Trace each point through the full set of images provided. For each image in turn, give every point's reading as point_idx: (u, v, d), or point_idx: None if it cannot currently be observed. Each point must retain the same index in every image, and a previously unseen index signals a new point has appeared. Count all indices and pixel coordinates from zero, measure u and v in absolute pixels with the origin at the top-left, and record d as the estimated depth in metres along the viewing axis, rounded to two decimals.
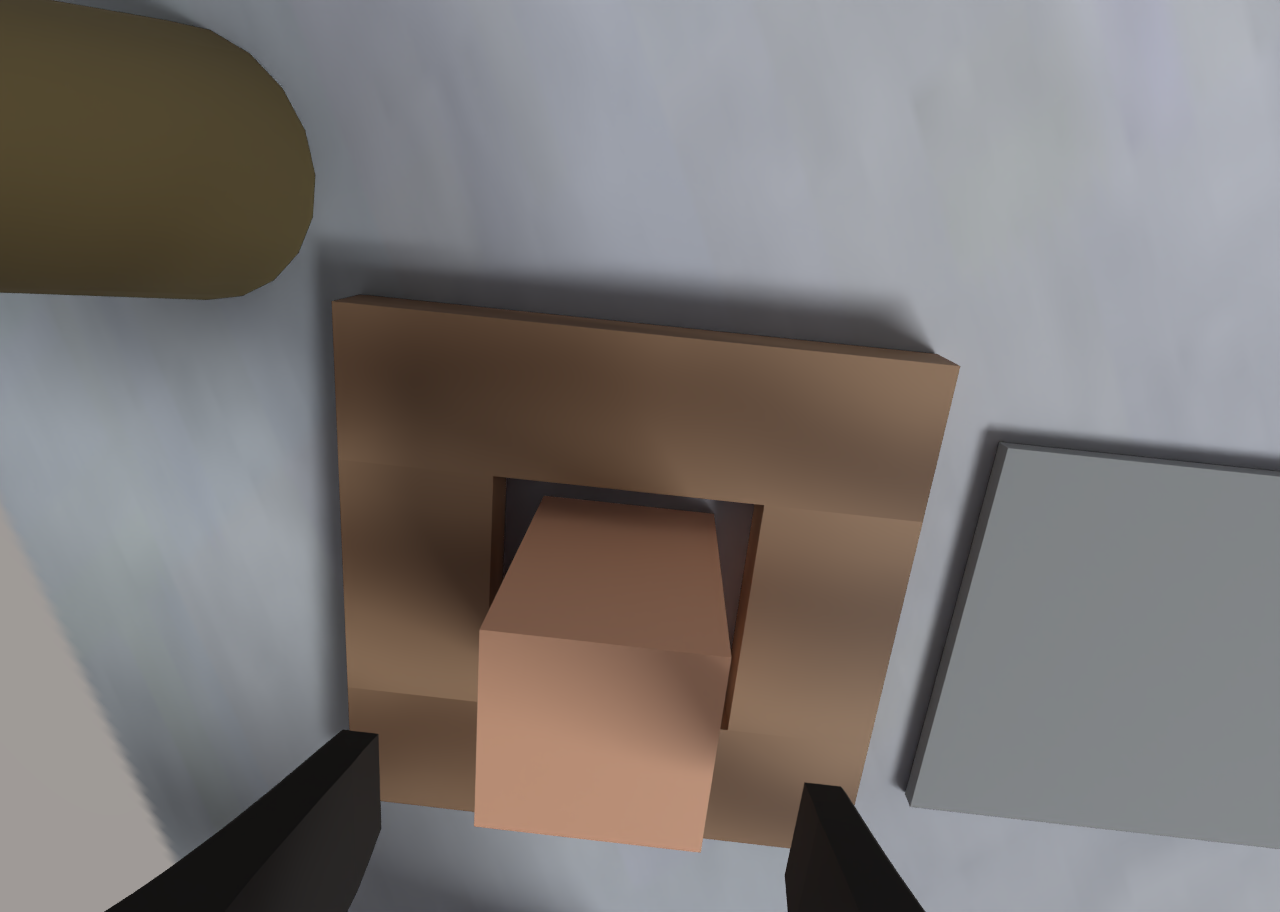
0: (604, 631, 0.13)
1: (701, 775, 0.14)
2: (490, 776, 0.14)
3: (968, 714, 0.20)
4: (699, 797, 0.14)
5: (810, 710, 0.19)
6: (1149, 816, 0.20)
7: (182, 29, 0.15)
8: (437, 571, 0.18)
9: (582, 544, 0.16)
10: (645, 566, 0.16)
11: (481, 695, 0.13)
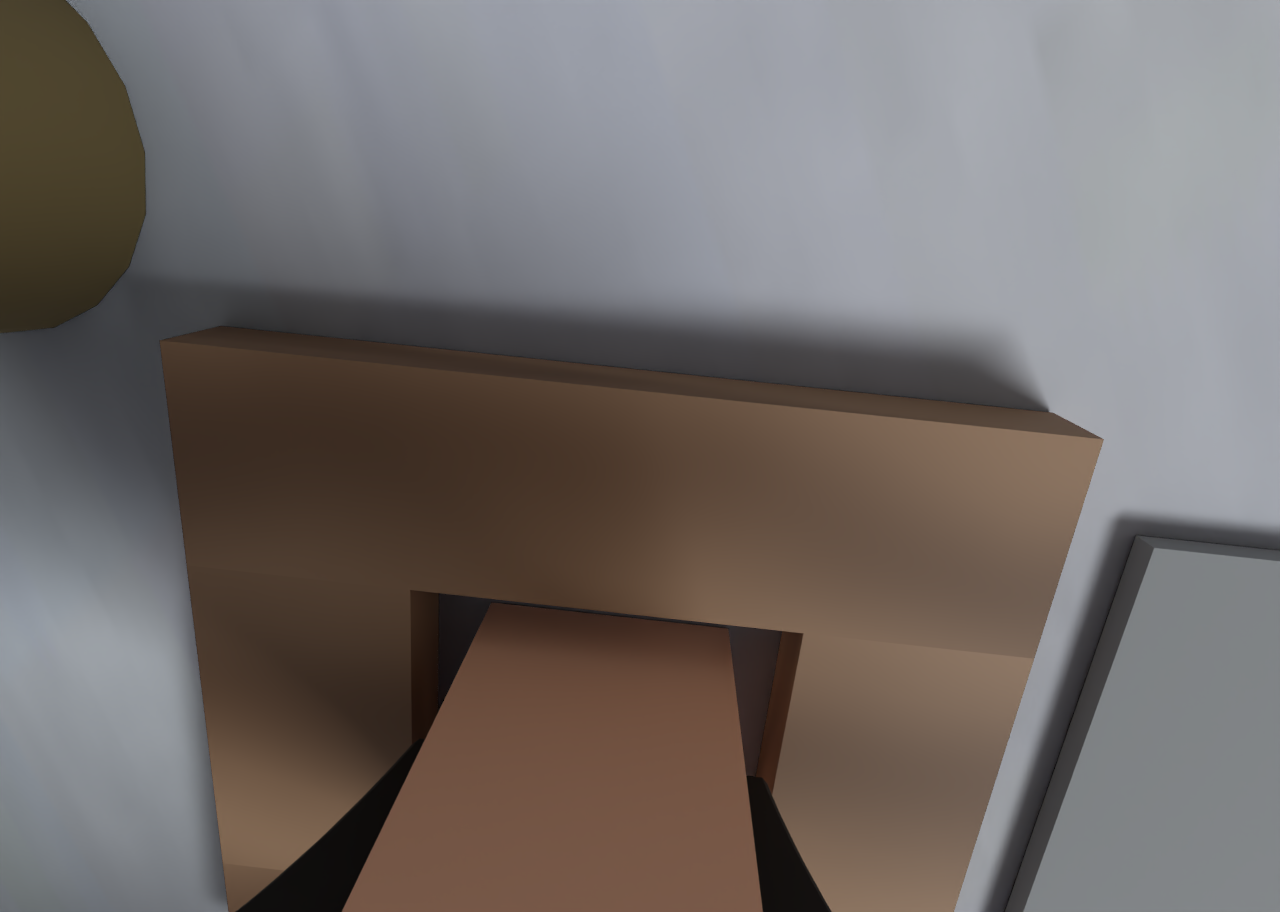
0: None
1: None
2: None
3: (1074, 894, 0.14)
4: None
5: (862, 902, 0.13)
6: None
7: None
8: (337, 716, 0.13)
9: (536, 700, 0.11)
10: (628, 743, 0.10)
11: None
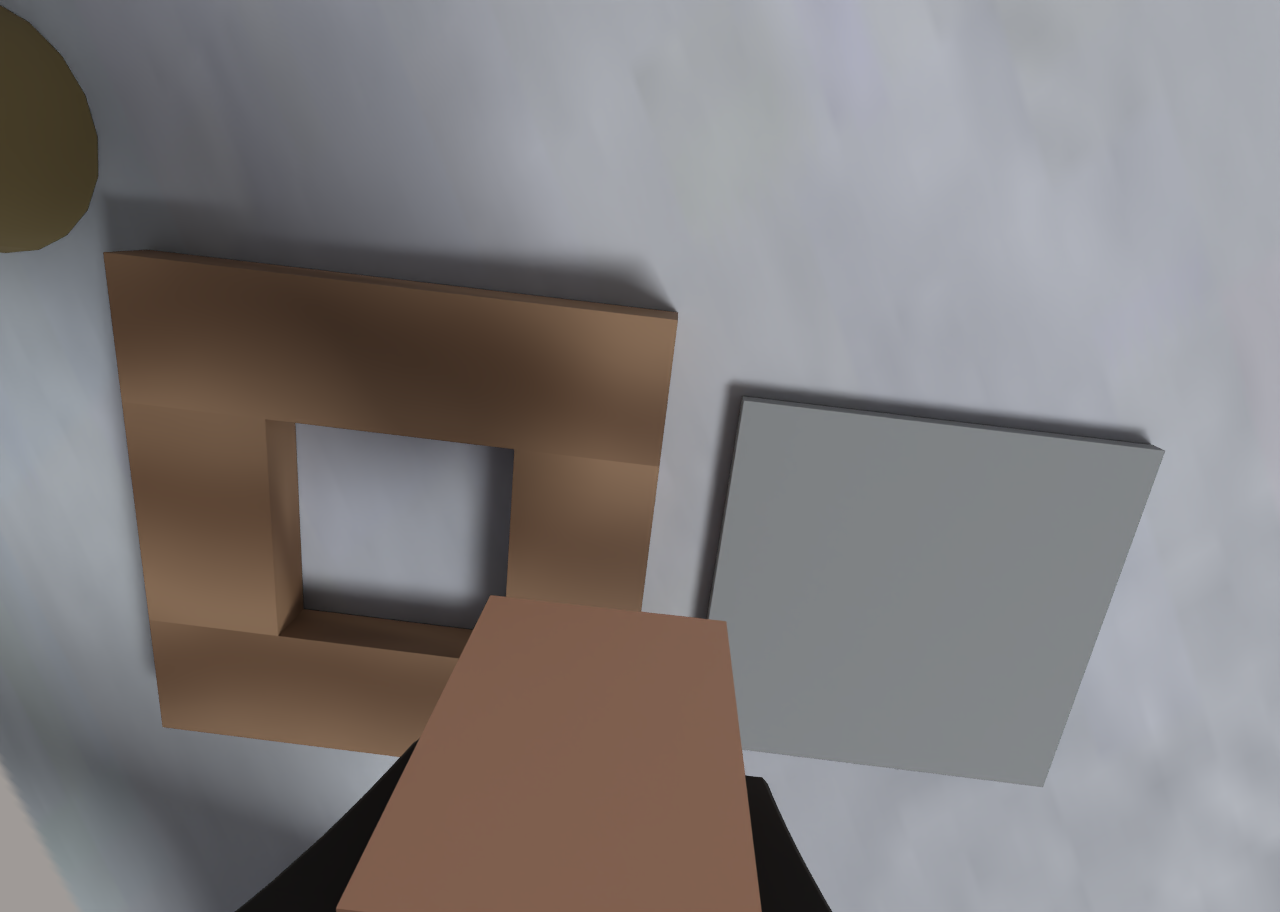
0: (552, 898, 0.08)
1: None
2: None
3: (732, 653, 0.21)
4: None
5: None
6: (908, 753, 0.22)
7: None
8: (222, 509, 0.19)
9: (535, 691, 0.11)
10: (626, 732, 0.10)
11: None
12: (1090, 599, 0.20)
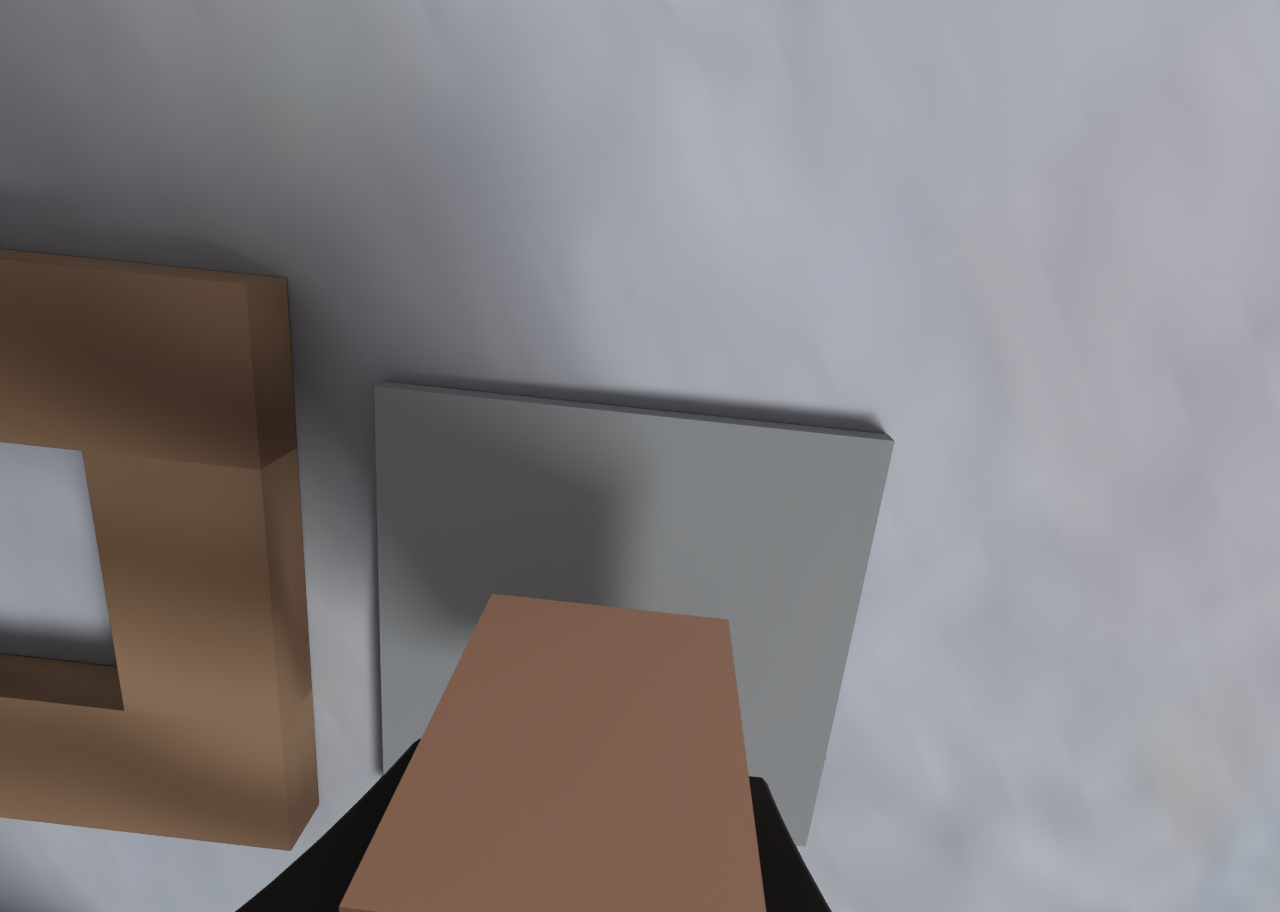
0: (557, 895, 0.08)
1: None
2: None
3: (415, 693, 0.18)
4: None
5: (206, 688, 0.17)
6: None
7: None
8: None
9: (538, 688, 0.11)
10: (629, 730, 0.10)
11: None
12: (829, 624, 0.16)
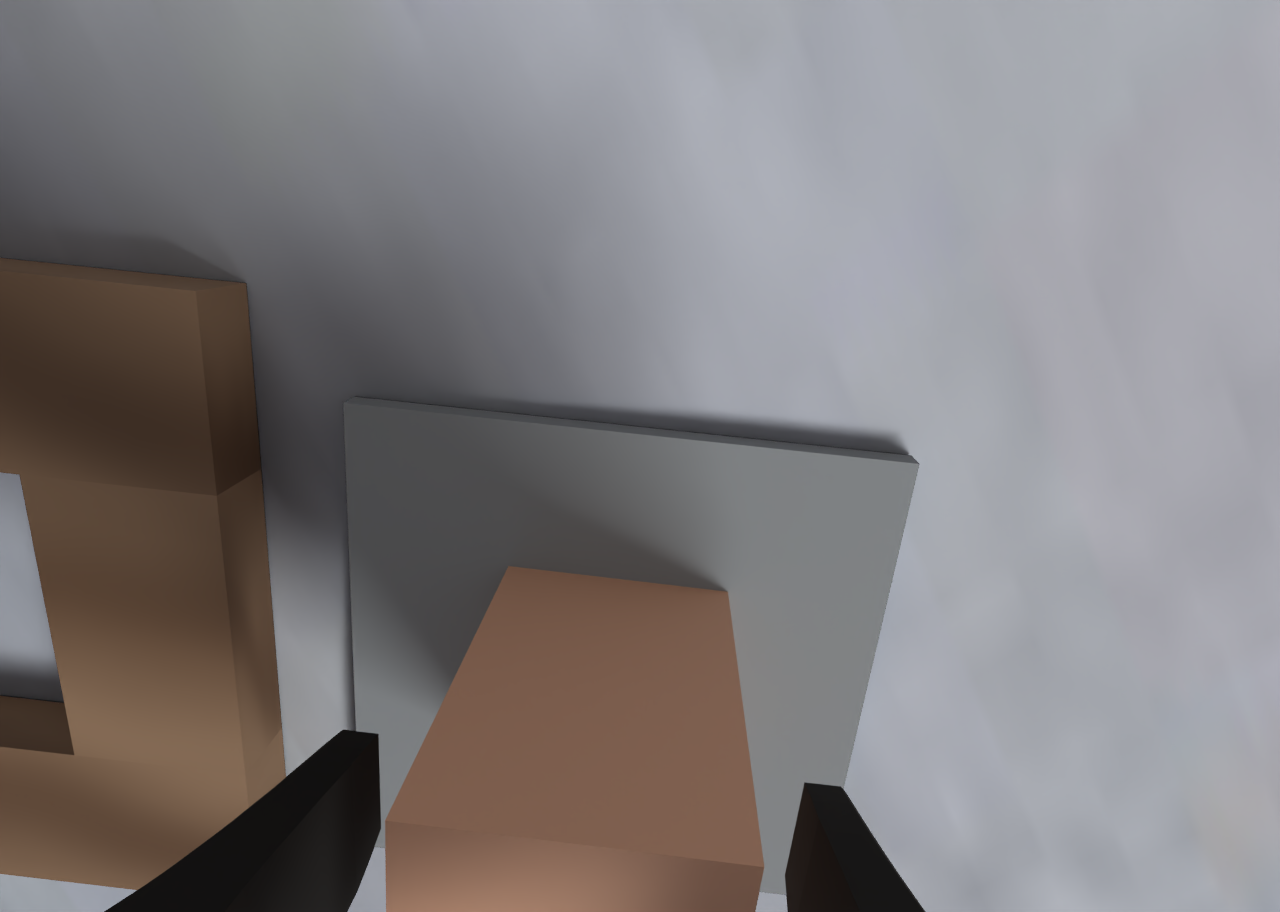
0: (575, 816, 0.09)
1: None
2: None
3: (393, 734, 0.16)
4: None
5: (162, 731, 0.15)
6: None
7: None
8: None
9: (553, 648, 0.12)
10: (636, 684, 0.11)
11: (391, 907, 0.09)
12: (845, 662, 0.15)
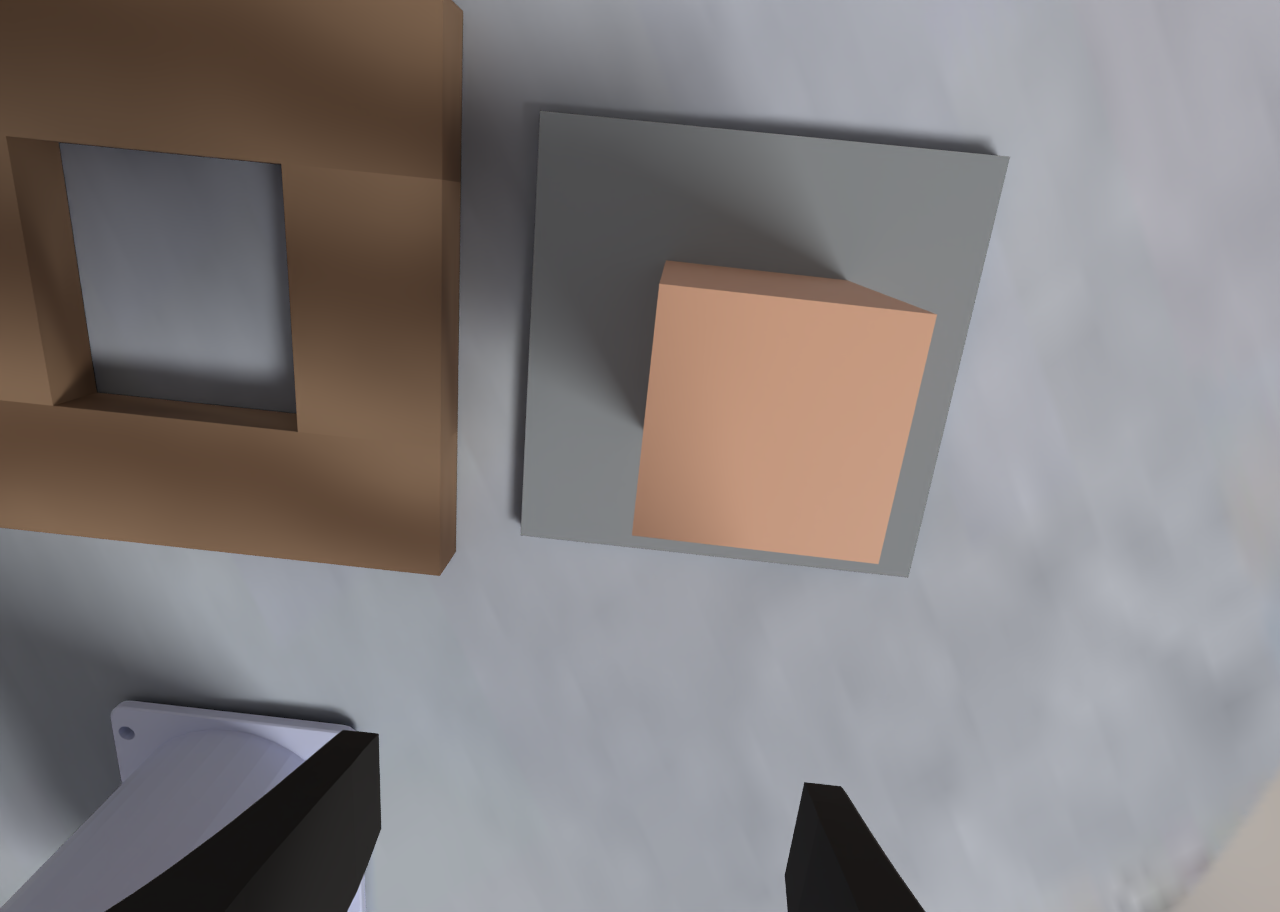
0: (791, 295, 0.12)
1: (889, 466, 0.12)
2: (655, 471, 0.13)
3: (557, 425, 0.19)
4: (884, 494, 0.13)
5: (374, 406, 0.18)
6: None
7: None
8: None
9: (728, 274, 0.15)
10: (801, 284, 0.15)
11: (654, 368, 0.12)
12: (941, 345, 0.18)
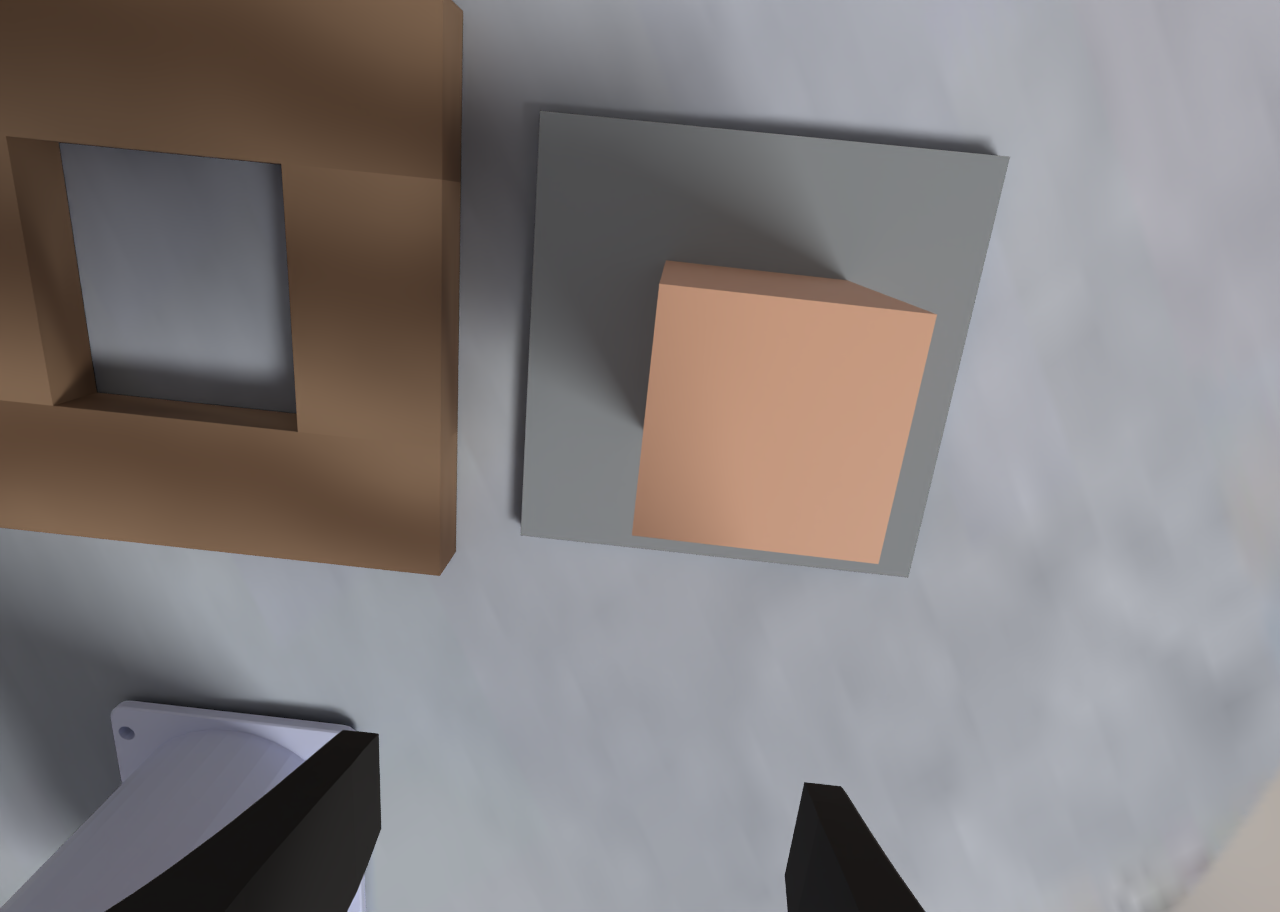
0: (791, 295, 0.12)
1: (889, 466, 0.12)
2: (655, 471, 0.13)
3: (557, 425, 0.19)
4: (884, 494, 0.13)
5: (374, 406, 0.18)
6: None
7: None
8: None
9: (728, 274, 0.15)
10: (801, 284, 0.15)
11: (654, 368, 0.12)
12: (941, 345, 0.18)
